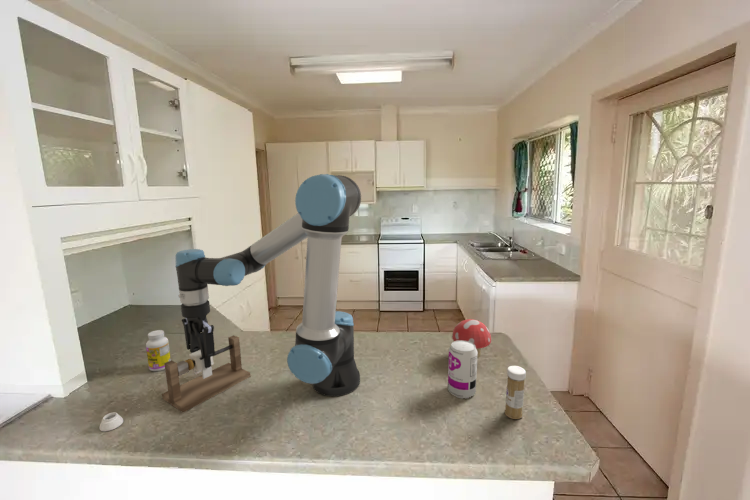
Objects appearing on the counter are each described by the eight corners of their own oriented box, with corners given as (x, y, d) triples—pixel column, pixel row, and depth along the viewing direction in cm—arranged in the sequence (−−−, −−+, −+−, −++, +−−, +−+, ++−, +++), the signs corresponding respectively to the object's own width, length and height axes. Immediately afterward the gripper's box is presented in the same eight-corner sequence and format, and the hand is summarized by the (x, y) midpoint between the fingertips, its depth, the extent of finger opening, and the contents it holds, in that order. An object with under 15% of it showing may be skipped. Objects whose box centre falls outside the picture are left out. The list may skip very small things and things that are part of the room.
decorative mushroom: (469, 373, 114) (471, 331, 111) (443, 356, 126) (444, 317, 123) (498, 363, 120) (500, 323, 118) (471, 348, 132) (472, 311, 129)
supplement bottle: (144, 369, 119) (139, 334, 116) (163, 360, 125) (158, 327, 122) (157, 373, 116) (152, 338, 114) (175, 364, 122) (171, 330, 120)
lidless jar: (124, 426, 91) (122, 417, 95) (122, 416, 90) (120, 407, 94) (100, 435, 88) (99, 425, 91) (98, 425, 87) (97, 415, 91)
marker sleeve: (213, 364, 106) (212, 351, 106) (197, 371, 102) (196, 357, 102) (206, 360, 109) (205, 347, 108) (190, 367, 105) (189, 354, 104)
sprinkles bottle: (501, 409, 96) (504, 365, 93) (517, 408, 96) (520, 364, 94) (509, 420, 91) (512, 374, 89) (525, 419, 92) (529, 373, 89)
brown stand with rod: (250, 376, 114) (247, 340, 111) (183, 412, 96) (177, 370, 93) (229, 366, 120) (225, 332, 118) (162, 398, 102) (156, 359, 100)
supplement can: (456, 402, 99) (457, 353, 97) (443, 386, 107) (444, 341, 104) (480, 397, 102) (483, 350, 99) (466, 382, 109) (468, 338, 107)
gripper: (167, 300, 103) (176, 371, 108) (198, 311, 94) (207, 388, 98) (192, 293, 110) (199, 361, 114) (223, 303, 100) (230, 376, 104)
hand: (203, 373), depth 106 cm, fingers closed on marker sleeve, 4 cm apart
